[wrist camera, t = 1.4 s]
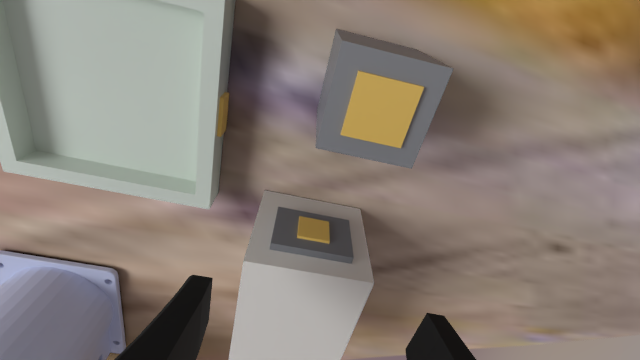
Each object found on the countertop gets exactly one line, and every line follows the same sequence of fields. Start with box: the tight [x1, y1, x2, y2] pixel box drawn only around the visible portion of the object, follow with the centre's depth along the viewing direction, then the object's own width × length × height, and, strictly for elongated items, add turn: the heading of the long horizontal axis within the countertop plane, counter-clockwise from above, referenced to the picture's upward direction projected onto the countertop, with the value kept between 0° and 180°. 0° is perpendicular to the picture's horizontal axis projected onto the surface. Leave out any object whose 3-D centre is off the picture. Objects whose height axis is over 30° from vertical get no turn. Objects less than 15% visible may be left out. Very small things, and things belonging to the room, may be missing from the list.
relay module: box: [316, 29, 453, 169], centre depth 14 cm, size 4×4×5 cm
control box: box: [229, 190, 374, 360], centre depth 19 cm, size 10×6×6 cm
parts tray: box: [0, 0, 235, 209], centre depth 15 cm, size 11×11×2 cm
